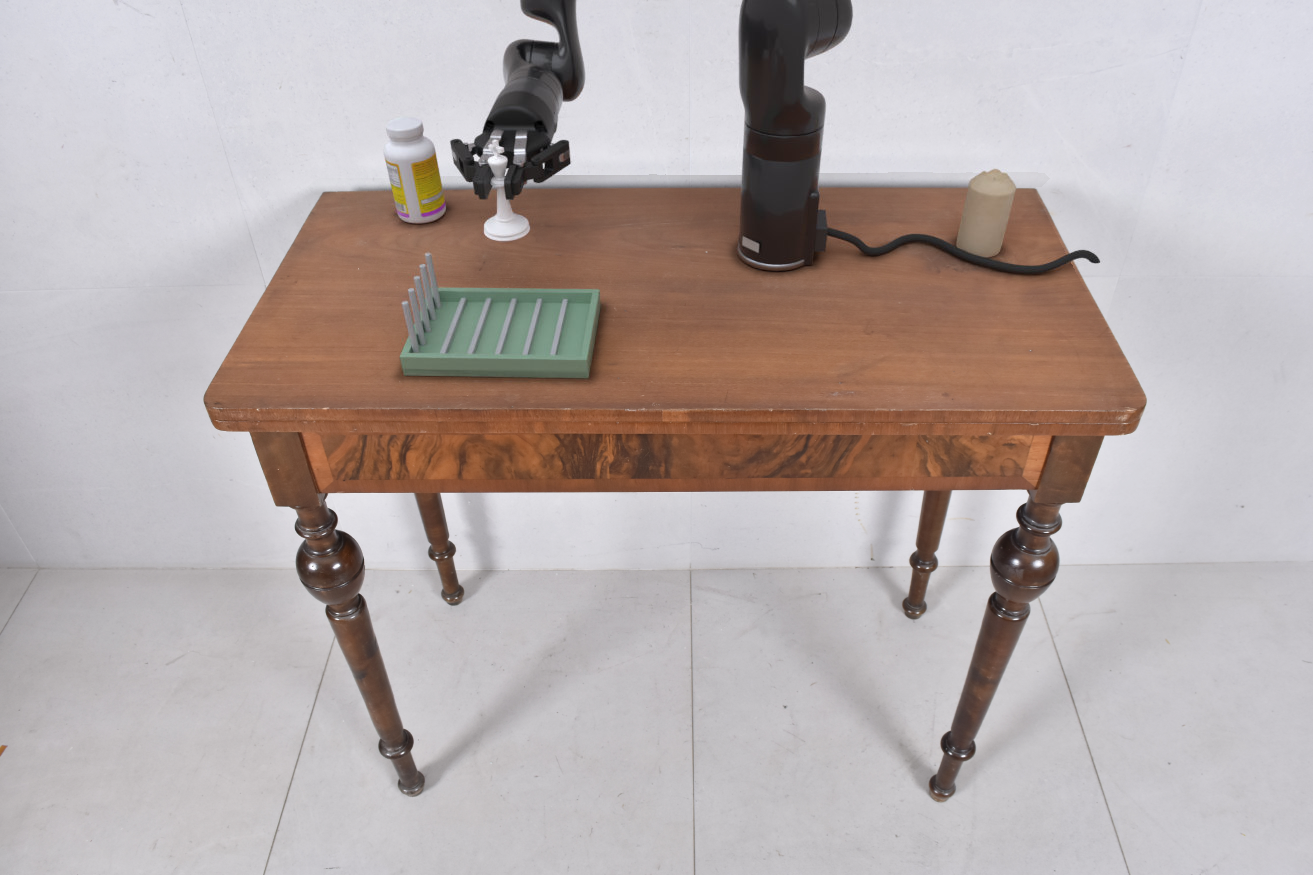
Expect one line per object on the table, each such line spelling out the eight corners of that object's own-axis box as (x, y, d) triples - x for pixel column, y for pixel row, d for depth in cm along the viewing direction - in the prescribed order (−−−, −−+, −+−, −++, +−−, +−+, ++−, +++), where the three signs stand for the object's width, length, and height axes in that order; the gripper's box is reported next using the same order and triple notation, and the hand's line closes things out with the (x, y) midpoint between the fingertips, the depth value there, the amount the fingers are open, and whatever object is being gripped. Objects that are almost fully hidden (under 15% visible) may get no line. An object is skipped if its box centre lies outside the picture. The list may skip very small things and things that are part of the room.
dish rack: (601, 307, 109) (597, 246, 104) (588, 378, 99) (583, 315, 93) (433, 305, 110) (421, 245, 105) (403, 375, 100) (388, 312, 94)
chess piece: (510, 246, 97) (498, 155, 90) (474, 234, 99) (460, 144, 92) (539, 226, 100) (529, 137, 94) (503, 215, 102) (492, 127, 96)
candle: (952, 254, 117) (968, 179, 111) (959, 234, 121) (974, 161, 115) (997, 261, 116) (1016, 186, 109) (1002, 241, 119) (1021, 167, 113)
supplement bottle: (452, 204, 130) (436, 114, 122) (439, 226, 125) (421, 134, 117) (406, 202, 131) (387, 113, 122) (391, 224, 126) (370, 133, 117)
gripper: (458, 89, 104) (420, 155, 91) (580, 90, 104) (559, 156, 91) (468, 153, 109) (433, 224, 96) (584, 154, 109) (566, 226, 96)
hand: (495, 191), depth 93 cm, fingers closed on chess piece
